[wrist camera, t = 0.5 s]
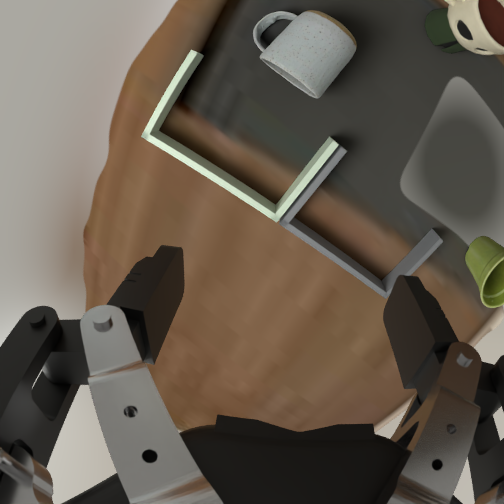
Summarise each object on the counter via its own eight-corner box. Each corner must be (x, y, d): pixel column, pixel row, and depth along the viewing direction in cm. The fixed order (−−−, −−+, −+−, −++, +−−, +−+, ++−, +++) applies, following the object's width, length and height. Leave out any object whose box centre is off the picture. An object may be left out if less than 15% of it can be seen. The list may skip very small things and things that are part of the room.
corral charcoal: (337, 142, 34) (341, 146, 31) (434, 231, 38) (443, 241, 35) (279, 214, 39) (279, 224, 37) (381, 286, 44) (385, 298, 41)
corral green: (198, 52, 30) (191, 49, 27) (334, 140, 34) (338, 144, 31) (151, 132, 35) (141, 136, 33) (277, 212, 39) (276, 222, 37)
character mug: (399, 26, 25) (449, 4, 14) (417, -11, 21) (466, -39, 10) (465, 75, 26) (527, 81, 15) (480, 39, 23) (541, 35, 12)
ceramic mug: (354, 51, 28) (370, 41, 21) (314, 99, 32) (321, 100, 25) (279, 1, 26) (277, -21, 19) (239, 50, 29) (227, 39, 23)
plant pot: (493, 215, 35) (524, 241, 28) (502, 257, 38) (528, 286, 31) (450, 245, 39) (476, 277, 31) (463, 285, 42) (485, 318, 35)
